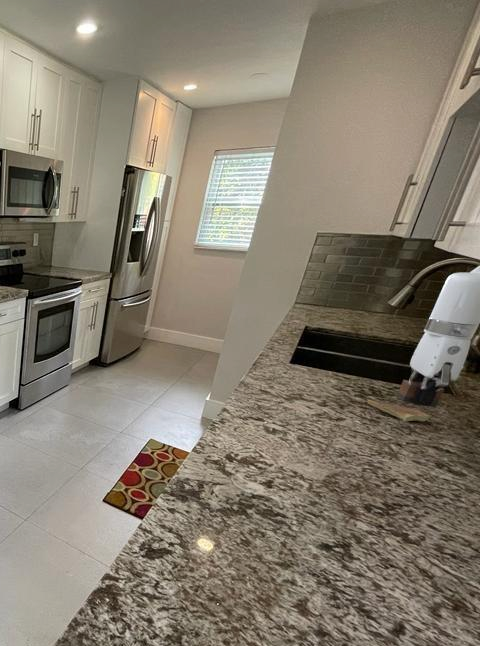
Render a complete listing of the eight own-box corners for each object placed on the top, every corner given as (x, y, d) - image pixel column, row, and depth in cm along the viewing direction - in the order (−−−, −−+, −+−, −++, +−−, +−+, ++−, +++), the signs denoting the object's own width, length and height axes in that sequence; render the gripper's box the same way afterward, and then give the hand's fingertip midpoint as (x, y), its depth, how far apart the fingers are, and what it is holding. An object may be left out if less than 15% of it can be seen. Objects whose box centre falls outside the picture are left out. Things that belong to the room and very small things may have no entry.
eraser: (428, 401, 100) (436, 384, 98) (436, 406, 97) (444, 389, 95) (396, 396, 102) (403, 379, 101) (402, 401, 99) (410, 384, 98)
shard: (364, 403, 116) (366, 397, 115) (390, 403, 116) (393, 397, 115) (403, 421, 106) (406, 415, 105) (432, 421, 106) (435, 415, 105)
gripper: (497, 340, 84) (456, 419, 91) (451, 322, 98) (419, 391, 105) (448, 335, 87) (412, 411, 94) (410, 318, 101) (381, 386, 108)
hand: (416, 400), depth 99 cm, fingers closed on eraser, 3 cm apart
